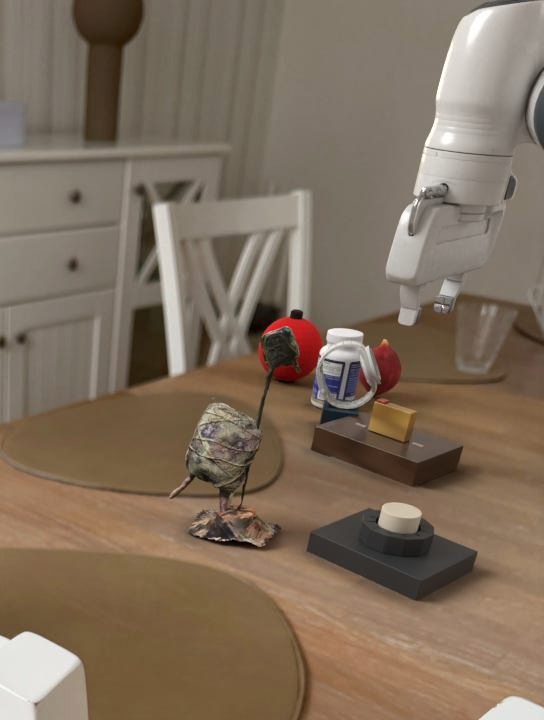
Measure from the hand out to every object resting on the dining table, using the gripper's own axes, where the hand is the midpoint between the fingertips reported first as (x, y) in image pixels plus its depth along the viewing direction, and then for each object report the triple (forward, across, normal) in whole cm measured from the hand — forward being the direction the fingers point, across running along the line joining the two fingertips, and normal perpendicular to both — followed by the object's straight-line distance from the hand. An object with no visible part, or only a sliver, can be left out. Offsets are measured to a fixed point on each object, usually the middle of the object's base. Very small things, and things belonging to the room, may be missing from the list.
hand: (425, 318), depth 109 cm
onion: (+17, +22, +13) cm, 31 cm away
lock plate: (+17, 0, +1) cm, 17 cm away
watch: (+17, +5, +9) cm, 20 cm away
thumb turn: (+14, 0, +1) cm, 14 cm away
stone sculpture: (+17, -32, +3) cm, 37 cm away
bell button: (+13, -26, -12) cm, 32 cm away
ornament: (+17, +19, +25) cm, 36 cm away
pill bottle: (+17, +14, +15) cm, 26 cm away
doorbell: (+17, -26, -12) cm, 33 cm away
